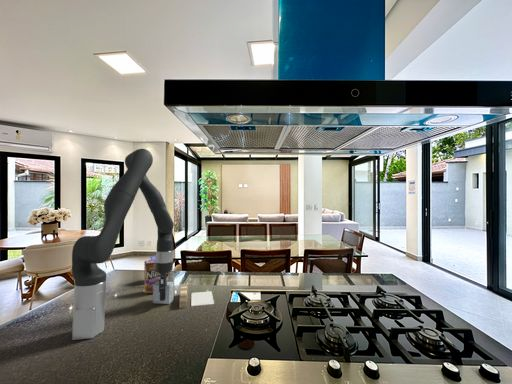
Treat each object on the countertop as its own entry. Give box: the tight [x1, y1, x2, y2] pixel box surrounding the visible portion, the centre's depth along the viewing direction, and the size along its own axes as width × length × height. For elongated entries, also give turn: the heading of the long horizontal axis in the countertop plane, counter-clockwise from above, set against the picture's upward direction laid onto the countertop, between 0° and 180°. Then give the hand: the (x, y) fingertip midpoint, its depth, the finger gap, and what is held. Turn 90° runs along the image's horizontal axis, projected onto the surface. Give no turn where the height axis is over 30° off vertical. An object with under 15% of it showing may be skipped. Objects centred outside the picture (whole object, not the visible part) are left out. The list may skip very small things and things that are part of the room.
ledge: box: [178, 283, 189, 309], centre depth 114 cm, size 16×3×5 cm, turn 14°
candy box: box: [143, 260, 161, 294], centre depth 125 cm, size 9×4×15 cm, turn 98°
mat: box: [190, 291, 215, 308], centre depth 116 cm, size 16×10×1 cm, turn 14°
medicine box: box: [152, 281, 174, 305], centre depth 111 cm, size 8×4×9 cm, turn 84°
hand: (163, 297), depth 111 cm, fingers closed on medicine box, 5 cm apart
